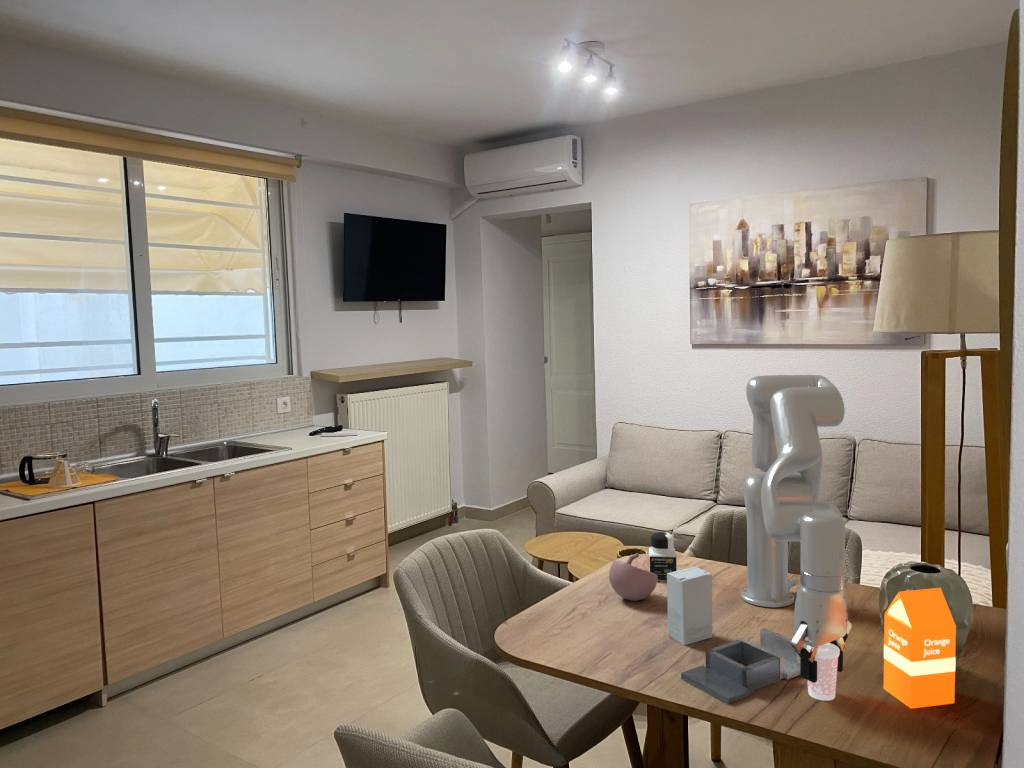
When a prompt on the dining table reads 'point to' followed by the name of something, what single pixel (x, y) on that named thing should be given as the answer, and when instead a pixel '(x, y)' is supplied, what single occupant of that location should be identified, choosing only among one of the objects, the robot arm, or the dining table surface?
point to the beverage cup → (825, 672)
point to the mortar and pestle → (631, 580)
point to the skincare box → (689, 605)
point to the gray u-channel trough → (772, 653)
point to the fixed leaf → (731, 673)
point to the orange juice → (920, 649)
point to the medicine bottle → (662, 555)
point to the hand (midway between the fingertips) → (821, 673)
